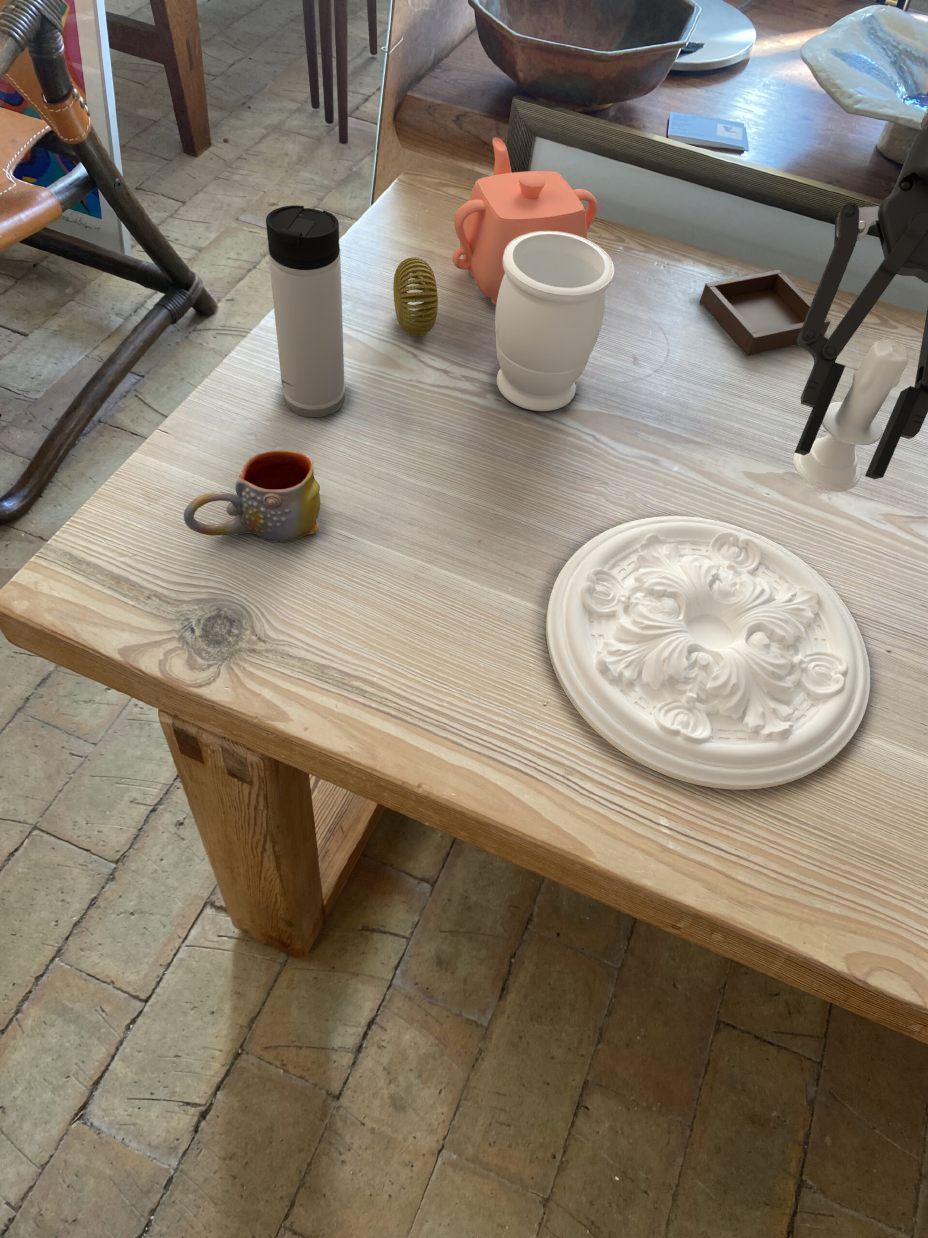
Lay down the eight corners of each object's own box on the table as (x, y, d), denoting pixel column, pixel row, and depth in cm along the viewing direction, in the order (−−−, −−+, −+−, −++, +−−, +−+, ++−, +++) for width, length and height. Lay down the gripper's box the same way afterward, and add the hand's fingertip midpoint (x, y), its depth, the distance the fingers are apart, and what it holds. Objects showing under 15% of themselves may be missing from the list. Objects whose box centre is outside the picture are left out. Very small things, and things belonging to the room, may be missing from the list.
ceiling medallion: (751, 493, 90) (762, 470, 88) (933, 726, 76) (953, 707, 73) (494, 563, 82) (498, 540, 80) (644, 838, 68) (654, 821, 65)
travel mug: (272, 412, 92) (251, 227, 76) (295, 372, 96) (280, 188, 79) (332, 426, 91) (323, 243, 75) (352, 385, 95) (348, 202, 79)
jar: (601, 381, 99) (633, 256, 87) (555, 434, 93) (583, 308, 81) (517, 342, 101) (536, 215, 89) (468, 391, 96) (482, 263, 84)
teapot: (550, 339, 102) (570, 234, 92) (423, 286, 106) (429, 180, 96) (604, 275, 111) (628, 173, 100) (485, 229, 114) (496, 126, 104)
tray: (822, 339, 107) (831, 321, 104) (747, 355, 103) (754, 337, 101) (772, 287, 112) (779, 268, 110) (699, 301, 109) (705, 282, 107)
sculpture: (389, 307, 103) (391, 242, 97) (424, 305, 104) (428, 240, 98) (402, 352, 99) (404, 287, 92) (438, 349, 100) (443, 285, 93)
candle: (832, 502, 70) (905, 378, 60) (778, 461, 72) (841, 335, 62) (873, 474, 72) (950, 350, 62) (820, 435, 74) (887, 309, 65)
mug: (308, 485, 86) (304, 432, 81) (331, 537, 83) (328, 486, 77) (180, 515, 83) (167, 462, 77) (198, 570, 79) (186, 519, 74)
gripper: (1081, 197, 65) (943, 506, 69) (837, 130, 68) (718, 430, 72) (1133, 155, 58) (975, 504, 62) (857, 83, 61) (724, 420, 65)
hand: (837, 463), depth 67 cm, fingers closed on candle, 5 cm apart
